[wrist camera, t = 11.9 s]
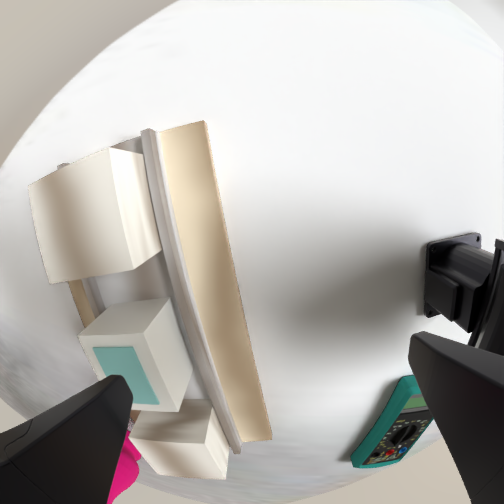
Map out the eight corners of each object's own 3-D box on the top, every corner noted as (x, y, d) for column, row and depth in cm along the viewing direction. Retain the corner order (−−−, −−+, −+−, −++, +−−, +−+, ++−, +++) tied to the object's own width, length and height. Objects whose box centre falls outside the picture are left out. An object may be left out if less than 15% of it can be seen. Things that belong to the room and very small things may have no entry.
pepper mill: (90, 429, 25) (32, 533, 6) (107, 412, 24) (38, 540, 4) (134, 458, 26) (92, 566, 7) (157, 446, 25) (114, 577, 5)
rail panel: (206, 123, 17) (178, 93, 10) (271, 432, 23) (273, 484, 17) (52, 178, 18) (-4, 182, 11) (148, 433, 24) (131, 475, 18)
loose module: (170, 296, 18) (142, 334, 13) (193, 366, 19) (178, 413, 14) (112, 303, 18) (75, 337, 13) (138, 368, 20) (114, 409, 15)
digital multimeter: (346, 457, 25) (351, 474, 22) (400, 371, 21) (411, 390, 19) (393, 450, 25) (399, 465, 22) (448, 368, 22) (461, 383, 19)
